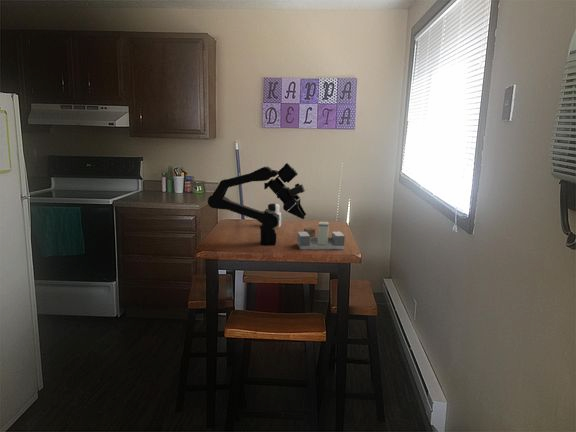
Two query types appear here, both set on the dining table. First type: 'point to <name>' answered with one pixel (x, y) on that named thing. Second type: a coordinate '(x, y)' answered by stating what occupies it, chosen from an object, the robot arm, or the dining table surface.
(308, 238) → the block
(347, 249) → the dining table surface
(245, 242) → the dining table surface
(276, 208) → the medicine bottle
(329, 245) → the grey base plate
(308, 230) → the walnut block
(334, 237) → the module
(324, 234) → the block
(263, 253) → the dining table surface
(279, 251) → the dining table surface
